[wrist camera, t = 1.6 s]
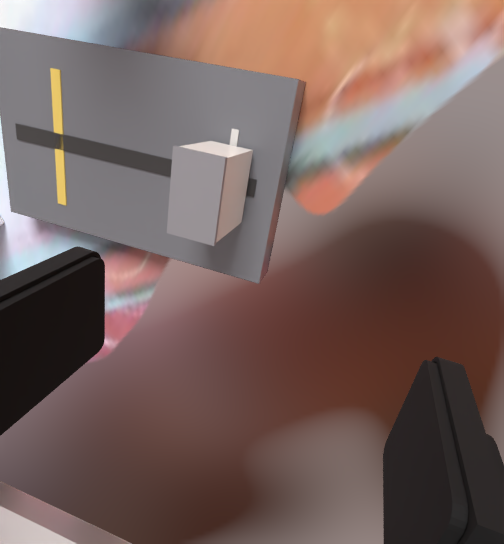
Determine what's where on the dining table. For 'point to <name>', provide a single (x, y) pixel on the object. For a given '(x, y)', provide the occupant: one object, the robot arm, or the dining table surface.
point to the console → (139, 142)
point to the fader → (207, 190)
